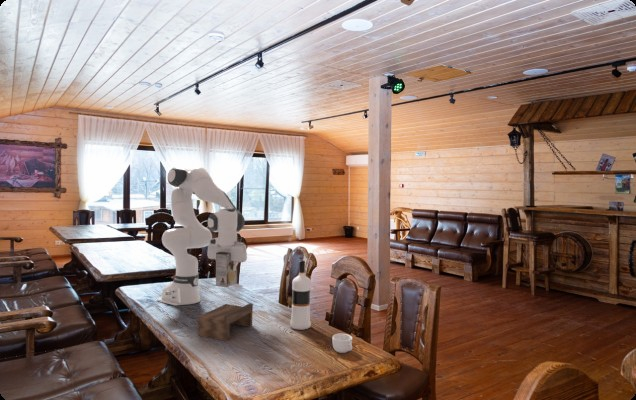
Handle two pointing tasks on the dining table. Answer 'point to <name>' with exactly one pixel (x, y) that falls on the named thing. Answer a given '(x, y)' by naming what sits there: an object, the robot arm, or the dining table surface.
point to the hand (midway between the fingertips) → (226, 269)
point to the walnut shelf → (224, 320)
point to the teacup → (342, 342)
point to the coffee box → (225, 270)
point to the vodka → (301, 300)
